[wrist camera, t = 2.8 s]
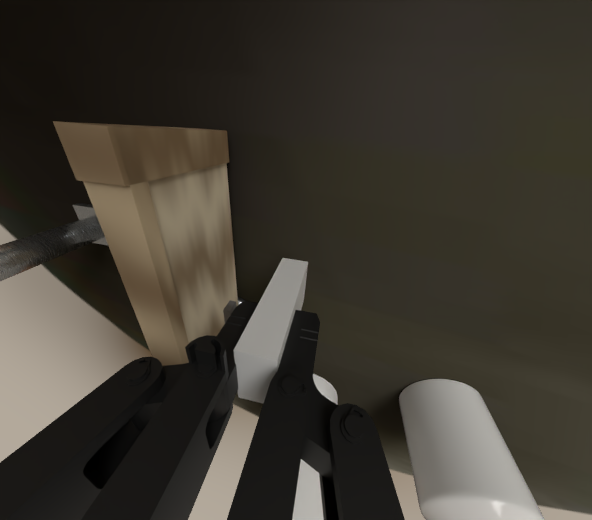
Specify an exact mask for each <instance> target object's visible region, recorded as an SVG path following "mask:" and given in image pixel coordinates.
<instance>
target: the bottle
mask: <svg viewBox="0 0 592 520" xmlns="http://www.w3.org/2000/svg"><path fill="white" fill-rule="evenodd" d="M313 380H314V383H315V385H316V387H317V389H318V390H319V392H320V393H321V394H322V395H323V396H325V397H326V398H327V399H329V400H330V401H332V402H334V403H335V404H337V393H336V390H335V389H334V387H333V386H332V385H331V384H330V383H329V382H327V381H326V380H325V379H324V378H322V377H319V376H317V375H315V374H313ZM292 520H324V518H323V508H322V498H321V488H320V477H319V473H318V472H317V471H316V470H314V469H313V468H312V467H311V466H309V465H308V464H307V463H306V462H304V461H303V460H302V459H301V462H300V469H299V476H298V482H297V489H296V496H295V503H294V510H293V517H292Z"/></svg>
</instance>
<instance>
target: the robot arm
mask: <svg viewBox="0 0 592 520" xmlns="http://www.w3.org/2000/svg"><path fill="white" fill-rule="evenodd" d="M307 266H308V262H305V261H299V260H293V259H286V258H282V260H281V262H280V264H279V266H278V268H277V270H276V271H275V273H274V275H273V277H272V279H271V281H270V283H269V285H268V286H267V288H266V290H265V292H264V294H263V296H262V298H261V300H260V301H259V303H254V302H249V301H243V302H242V303H241V304H239V305H238V306H236V307H235V309H234V310H233V312H232V313H231V316H230V317H229V318H228V320H227V321H226V324H224V326H223V327H222V329H221V330H220V332H219V333H218V335H217V336H210V335H206V336H202V337H198V338H197V339H195V340H193V341H191V342H190V343H189V344H188V345H187V346H186V347H185V349H186V353H187V357H188V361H189V363H185V364H177V365H165V366H162V363H161V362H160V361H159V360H158V359H157V358H154V357H142V358H140V359H137V360H134V361H132V362H131V363H129V364H127V365H126V366H124V367H123V368H122V369H120V370H119V371H118V372H117V373H115V374H114V375H113V376H111V377H110V378H109V379H108V380H106V381H105V382H104V383H102V384H101V385H100V386H99V387H97V388H96V389H95V390H93V391H92V392H91V393H90V394H88V395H87V396H86V397H84V398H83V399H82V400H80V401H79V402H78V403H77V404H75V405H74V406H73V407H71V408H70V409H69V410H68V411H67V412H65V413H64V414H63V415H61V416H60V417H59V418H57V419H56V420H55V421H53V422H52V423H51V424H49V425H48V426H47V427H46V428H44V429H43V430H42V431H40V432H39V433H38V434H37V435H35V436H34V437H33V438H31V439H30V440H29V441H28V442H26V443H25V444H24V445H23V446H21V447H20V448H19V449H17V450H16V451H15V452H14V453H12V454H11V455H9V456H8V457H7V458H6V459H4V460H3V461H2V462H1V463H0V520H188V518H189V515H190V513H191V511H192V508H193V506H194V503H195V501H196V498H197V496H198V493H199V491H200V489H201V486H202V484H203V482H204V479H205V477H206V474H207V472H208V469H209V467H210V465H211V462H212V460H213V457H214V455H215V453H216V450H217V448H218V445H219V443H220V440H221V438H222V435H223V433H224V431H225V428H226V426H227V424H228V421H229V418H230V416H231V414H232V409H233V404H232V402H233V399H234V397H235V395H236V392H237V390H238V397H239V398H243V399H247V400H251V401H255V402H259V403H263V407H262V410H261V413H260V416H259V419H258V423H257V426H256V429H255V432H254V435H253V438H252V442H251V445H250V448H249V451H248V455H247V458H246V461H245V464H244V467H243V470H242V473H241V477H240V480H239V483H238V486H237V489H236V493H235V496H234V499H233V502H232V505H231V508H230V512H229V515H228V518H227V520H292V517H293V510H294V503H295V496H296V489H297V482H298V476H299V469H300V462H301V459H302V460H303V461H304V462H306V463H307V464H308V465H309V466H311V467H312V468H313V469H314V470H316V471H317V472H318V473H319V477H320V488H321V498H322V508H323V518H324V520H404V516H403V513H402V509H401V506H400V503H399V500H398V497H397V494H396V490H395V487H394V484H393V481H392V477H391V474H390V471H389V467H388V464H387V461H386V458H385V454H384V451H383V448H382V445H381V442H380V438H379V435H378V432H377V429H376V426H375V424H374V422H373V420H372V418H371V417H370V416H369V415H368V414H367V412H366V411H365V410H363V409H362V408H360V407H358V406H357V405H353V404H348V403H347V404H343V405H340V406H339V405H337V404H335V403H334V402H332V401H330V400H329V399H327V398H326V397H325V396H323V395H322V394H321V393H320V392H319V390H318V389H317V387H316V385H315V383H314V380H313V368H314V361H315V354H316V347H317V340H318V333H319V326H320V321H319V319H318V316H317V314H316V313H310V312H305V311H301V308H302V304H303V301H304V293H305V284H306V275H307Z"/></svg>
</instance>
